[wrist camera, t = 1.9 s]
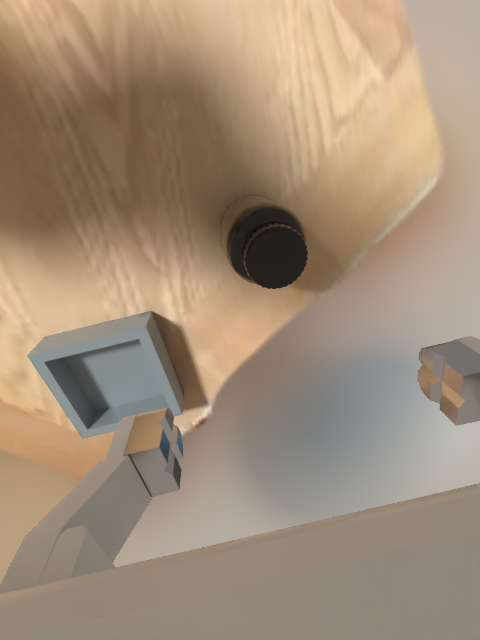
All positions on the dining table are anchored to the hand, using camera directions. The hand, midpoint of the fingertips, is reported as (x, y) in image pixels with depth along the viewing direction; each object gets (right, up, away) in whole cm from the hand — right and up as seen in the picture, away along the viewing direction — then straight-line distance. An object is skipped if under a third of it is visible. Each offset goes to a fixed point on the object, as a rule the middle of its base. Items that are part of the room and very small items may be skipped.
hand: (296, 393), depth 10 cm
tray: (-17, -4, +29) cm, 34 cm away
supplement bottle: (-1, +12, +23) cm, 26 cm away
